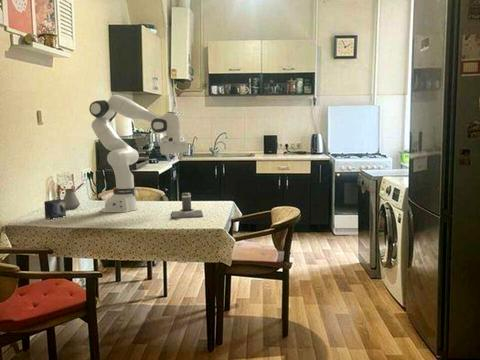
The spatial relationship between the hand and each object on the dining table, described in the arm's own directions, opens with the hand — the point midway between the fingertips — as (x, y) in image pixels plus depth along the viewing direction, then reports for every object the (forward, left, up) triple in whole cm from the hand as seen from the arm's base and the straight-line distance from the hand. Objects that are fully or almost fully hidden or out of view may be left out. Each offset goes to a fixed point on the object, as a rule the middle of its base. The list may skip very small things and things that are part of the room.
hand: (174, 160), depth 301 cm
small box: (-72, -5, -31) cm, 79 cm away
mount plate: (+6, -17, -31) cm, 36 cm away
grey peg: (+6, -17, -30) cm, 35 cm away
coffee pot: (-67, +28, -31) cm, 79 cm away
